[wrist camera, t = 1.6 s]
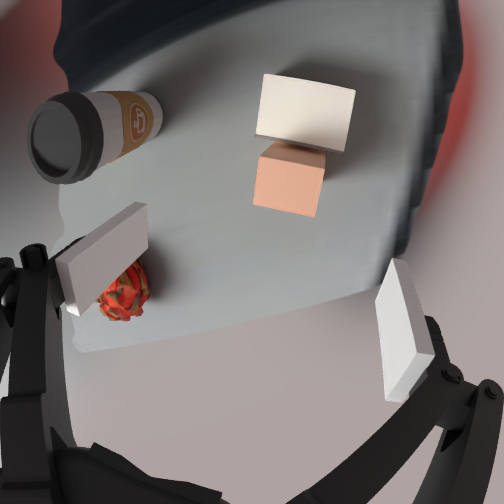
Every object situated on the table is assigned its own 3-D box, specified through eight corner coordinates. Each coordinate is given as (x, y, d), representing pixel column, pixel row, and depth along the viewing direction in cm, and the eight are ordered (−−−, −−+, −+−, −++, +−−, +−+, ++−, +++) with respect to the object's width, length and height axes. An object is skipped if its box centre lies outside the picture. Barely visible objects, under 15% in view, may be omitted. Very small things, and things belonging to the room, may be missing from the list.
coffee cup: (174, 150, 35) (92, 191, 23) (117, 150, 37) (31, 189, 24) (172, 80, 31) (82, 86, 19) (113, 87, 33) (19, 103, 20)
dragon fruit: (135, 299, 51) (140, 233, 46) (158, 330, 46) (166, 259, 41) (88, 308, 45) (87, 238, 41) (106, 343, 40) (106, 267, 35)
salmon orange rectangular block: (279, 137, 32) (259, 156, 24) (326, 146, 31) (324, 169, 23) (273, 173, 34) (252, 204, 26) (319, 182, 33) (314, 217, 25)
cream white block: (273, 76, 29) (263, 73, 25) (352, 90, 28) (356, 90, 24) (265, 130, 32) (254, 137, 28) (341, 145, 31) (343, 155, 27)
